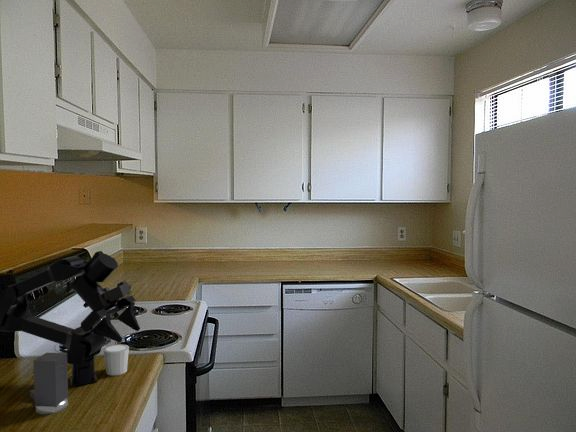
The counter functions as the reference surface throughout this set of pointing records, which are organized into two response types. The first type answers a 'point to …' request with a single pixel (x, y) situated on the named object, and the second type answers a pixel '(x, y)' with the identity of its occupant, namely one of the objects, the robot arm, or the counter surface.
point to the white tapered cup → (116, 359)
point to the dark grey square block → (50, 379)
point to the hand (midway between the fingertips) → (130, 335)
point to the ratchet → (47, 409)
